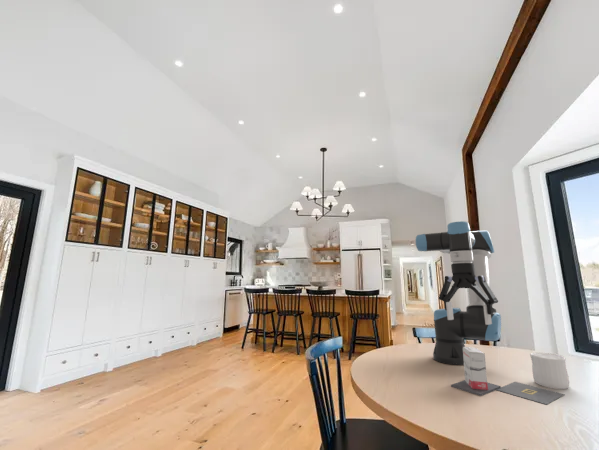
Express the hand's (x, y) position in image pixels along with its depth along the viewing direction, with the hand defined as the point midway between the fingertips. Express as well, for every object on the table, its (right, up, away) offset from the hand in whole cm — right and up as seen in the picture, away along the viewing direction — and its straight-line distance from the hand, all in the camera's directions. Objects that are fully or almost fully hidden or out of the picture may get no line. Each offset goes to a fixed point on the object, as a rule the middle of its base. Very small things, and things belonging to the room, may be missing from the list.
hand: (468, 321), depth 105 cm
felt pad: (0, -21, -4) cm, 22 cm away
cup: (+28, -22, -2) cm, 36 cm away
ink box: (0, -21, -4) cm, 21 cm away
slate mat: (+15, -20, -9) cm, 27 cm away
